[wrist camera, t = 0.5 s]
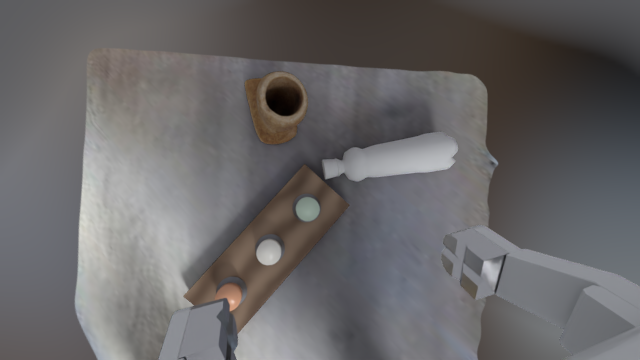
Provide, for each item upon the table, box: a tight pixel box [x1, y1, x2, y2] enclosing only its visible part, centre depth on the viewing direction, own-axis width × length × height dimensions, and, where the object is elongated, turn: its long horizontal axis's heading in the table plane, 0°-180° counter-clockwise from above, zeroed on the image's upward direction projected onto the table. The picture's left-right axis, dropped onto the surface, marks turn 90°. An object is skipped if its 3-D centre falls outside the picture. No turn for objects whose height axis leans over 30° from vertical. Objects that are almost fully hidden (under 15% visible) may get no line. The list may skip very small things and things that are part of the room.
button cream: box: [256, 239, 281, 265], centre depth 52 cm, size 5×5×2 cm
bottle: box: [322, 131, 458, 182], centre depth 57 cm, size 9×9×30 cm
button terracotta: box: [215, 283, 243, 311], centre depth 51 cm, size 5×5×2 cm
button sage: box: [296, 197, 320, 221], centre depth 53 cm, size 5×5×2 cm
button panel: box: [183, 164, 350, 334], centre depth 56 cm, size 14×38×3 cm, turn 138°
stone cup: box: [245, 71, 308, 144], centre depth 51 cm, size 15×12×15 cm
